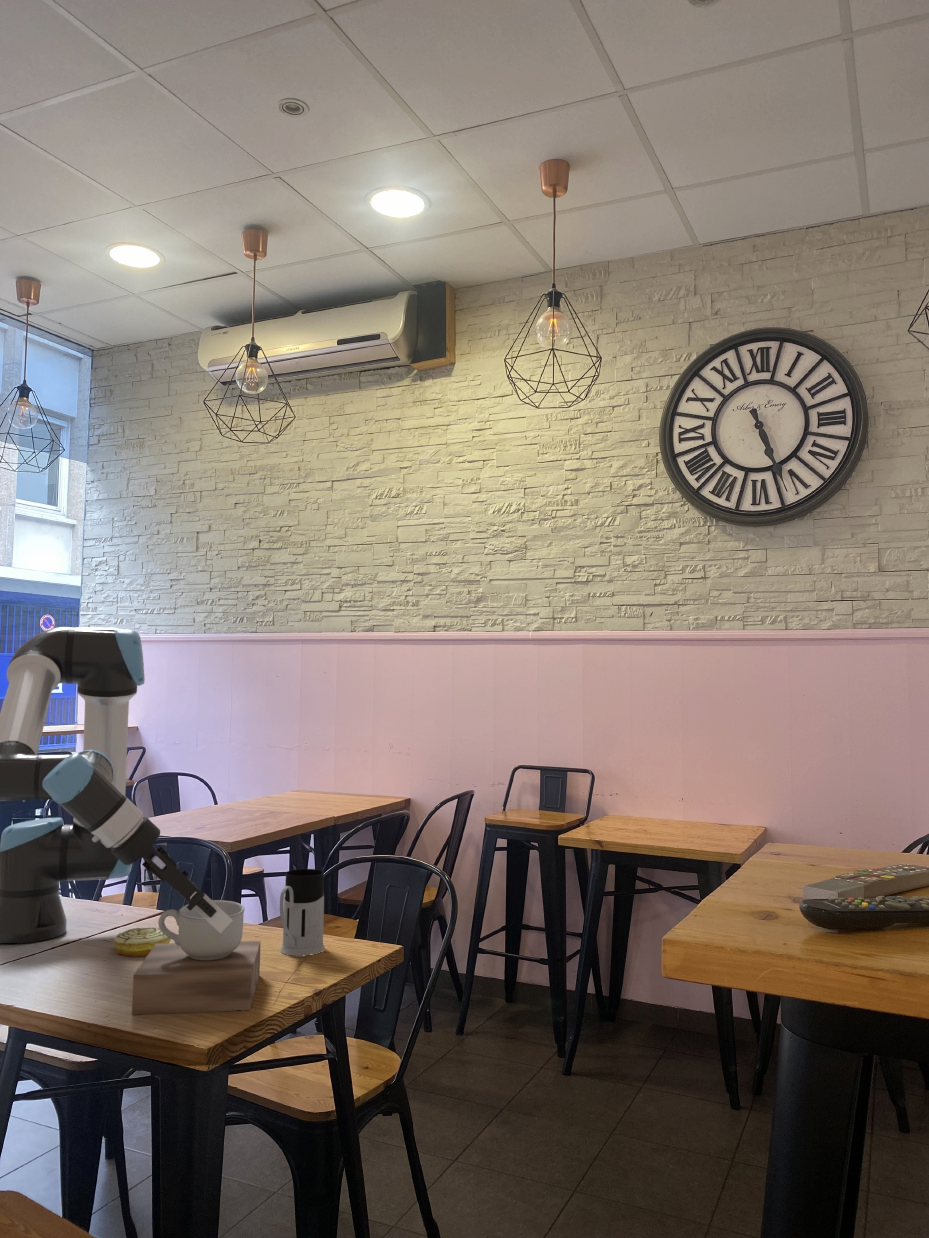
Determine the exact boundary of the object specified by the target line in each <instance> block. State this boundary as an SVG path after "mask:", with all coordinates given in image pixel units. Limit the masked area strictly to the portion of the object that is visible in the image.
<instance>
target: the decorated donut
mask: <svg viewBox="0 0 929 1238" xmlns="http://www.w3.org/2000/svg"><path fill="white" fill-rule="evenodd" d="M171 940H172V939H170V938H169V937H167V936H166V935H164V934H163V933H162V932H161V930H160V928H159V927H136V928H131V929H128V930H125V931H123V932H119V933H118V934H117V935H115V937H114V938H113V941H114V942H113V945H114V949H115V951H116V952H117V953H118V954H120V955H123V956H126V957H147V956H148V954H149V953H150V952H151V950H152V949H153V948H154V946H155V945H156V944H163V943H171Z"/></svg>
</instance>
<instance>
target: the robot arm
mask: <svg viewBox="0 0 929 1238" xmlns="http://www.w3.org/2000/svg"><path fill="white" fill-rule="evenodd" d="M144 663H145V662H144V653H143V645H142V639H141V635H140V634H139V633H138V632H137V631H135V630H133V629H125V628H118V627H70V626H58V627H52V628H50V629H47V630H44V631H41V632H40V633H38V634H36V635H34V636H32V637H31V638H30V639H28V640H27V641H25V642H24V643H23V644H22V645H21V646H20V647H19V648H18V649H17V650H16V651H15V653H14V654H13V656H12V657H11V659H10V661H9V664H8V665H7V670H6V679H7V682H8V686H7V688H6V689H7V690H6V692H5V696H4V699H3V702H2V706H1V708H0V802H12V801H15V802H17V801H36V800H37V801H48V800H49V801H50V800H53V802H54V803H57V804H58V805H60V806H61V807H62V808H63V809H64V810H65V811H66V812H67V813H68V814H69V815H70V816H72V817H73V820H72V821H73V822H72V824H65V823H64V819H63V818H62V817H59V816H57V817H47V818H46V817H45V818H38V819H33V820H32V819H31V820H26V821H21V822H18V823H13V824H11V825H9V826H7V827H5V828H4V829H3V831H2V832H1V836H0V944H1V943H17V944H25V943H26V944H28V943H35V942H37V943H38V942H41V941H42V942H43V941H47V940H51V939H54V938H57V937H60V936H62V935H64V934H65V933H66V932H67V917H66V913H65V910H64V907H63V904H62V899H61V895H60V883H61V882H74V881H95V880H97V881H98V880H105V881H108V880H110V879H111V880H112V879H121V878H126V877H127V876H128V875H129V874H130V873H131V871H132V866H133V864H134V863H135V862H137V861H138V860H139V859H141V858H142V859H143V860H144V862H143V863H142V864H141V866H143V867H144V868H145V869H146V870H147V871H148V872H149V873H150V874H152V875H155V877H157V879H159V881H161V882H162V883H167V884H169V885H170V886H171V887H172V888H173V889H174V890H175V891H176V892H177V893H178V894H179V895H180V896H181V897H182V898H183V899H185V901H187V902H188V904H189V905H188V904H187V905H188V906H187V908H188V909H189V910H190V911H191V910H192V909H193V908H194V909H195V910H196V911H197V912H198V913H199V914H200V915H201V916H202V917H203V918H204V919H206V920H207V921H208V922H209V923H210V924H211V925H212V926H213V927H214V928H215V929H216V930H217V931H218V932H219V933H220V934H221V933H222V932H223V930H224V929H225V928H226V927H227V926H228V925H229V924H230V923H231V922H232V921H233V920H232V919H231V918H230V917H229V916H228V915H227V914H226V913H225V912H224V911H223V910H222V909H220V908H219V907H218V906H217V905H216V904H215V903H214V902H213V901H212V899H211V898H210V897H209V896H208V895H207V894H206V893H205V892H204V891H203V890H201V889H199V887H198V886H197V885H195V884H194V882H193V881H191V880H190V879H189V878H188V877H189V873H188V872H187V871H186V870H183V871H182V872H181V870H179V869H180V866H179V865H178V863H176V861H174V859H172V858H171V855H170V854H169V853H168V852H167V851H166V849H164V848H162V847H161V846H158V847H157V848H156V847H154V844H155V843H156V842H157V841H158V839H159V838H160V835H161V829H160V828H159V827H158V826H156V824H154V823H153V822H152V820H150V819H149V818H148V817H143V816H144V815H143V814H144V813H143V812H142V810H141V809H139V807H137V806H136V805H135V803H133V802H132V801H131V800H130V799H129V798H128V797H126V790H127V789H126V786H127V785H126V784H127V783H126V782H127V759H128V758H127V757H128V738H129V737H128V735H129V733H128V732H129V712H130V711H129V708H130V707H129V706H130V700H131V699H132V698H133V697H135V695H137V694H138V693H137V692H138V686H140V687H141V686H142V685H144V684H145V667H144V665H145V664H144ZM59 684H67V685H68V684H69V685H71V684H73V685H77V690H76V691H77V694H78V695H79V696H80V697H81V698H82V699H83V700H84V720H83V721H84V722H83V723H84V725H83V750H82V751H79V752H74V753H71V754H38V753H39V748H40V743H41V739H42V736H43V735H42V734H43V732H44V727H45V722H46V718H47V714H48V709H49V705H50V700H51V697H52V696H51V695H52V692H53V691H55V689H56V688H57V687H58V686H59Z"/></svg>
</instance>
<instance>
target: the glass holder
mask: <svg viewBox="0 0 929 1238" xmlns="http://www.w3.org/2000/svg"><path fill="white" fill-rule="evenodd" d="M324 873H325V872H324V871H323V870H321V869H316V868H300V869H299V868H297V869H292V870H291V869H290V870H288V871H286V872H285V886H284V887H283V888H282V890H281V892H280V896H279V915H280V916H279V917H280V922H281V926H282V945H281V947H280V950H279V951H281V952H282V953H283V954H282V953H281V952H280V953H281V954H282V955H284V954H288V955H293V956H292V957H304V956H303V955H310V954H316V953H319V952H321V951H323V950H324V949H325V950H326V948H325V945H324V916H325V892H324V880H325V879H324V878H325V877H324V876H325V874H324ZM288 955H287V956H288ZM294 955H295V956H294Z"/></svg>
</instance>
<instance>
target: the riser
mask: <svg viewBox="0 0 929 1238" xmlns="http://www.w3.org/2000/svg"><path fill="white" fill-rule="evenodd" d="M260 965H261V940H244V941H242V940H241V942H240V944H239V946H238V947H237V948H236V949H235V950H234V951H232V952H231V954H230V955H228V956H227V957H225V958H222V959H218V960H210V961H204V960H195V959H193V958H191V957H189V956H188V954H186V953H185V952H184V951H183V950H182V949H181V947H180V946H179V945H176V944H175V942H173V943H172V942H169V943H163V944H156V945H155V946H154V948H153V949H152V950H151V952H150V953H149V954H148V956H145V958H144V960H143V962H141V964H140V965H139V967H138V968H137V970H135V972H134V973H133V981H132V982H133V983H132V1001H131V1002H132V1003H131V1015H132V1016H133V1015H135V1016H136V1015H138V1016H139V1015H158V1014H159V1015H160V1014H161V1015H162V1014H163V1015H164V1014H184V1013H186V1014H187V1013H189V1014H190V1013H208V1012H211V1013H212V1012H213V1013H214V1012H236V1010H241V1011H251V1009H252V1005H253V1000H254V997H255V993H256V990H257V986H258V982H259V978H260V972H261V968H260ZM233 1010H234V1011H233Z"/></svg>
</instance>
